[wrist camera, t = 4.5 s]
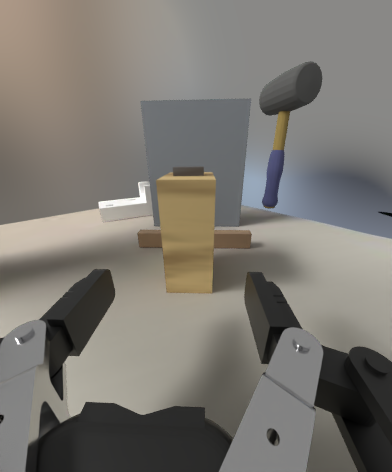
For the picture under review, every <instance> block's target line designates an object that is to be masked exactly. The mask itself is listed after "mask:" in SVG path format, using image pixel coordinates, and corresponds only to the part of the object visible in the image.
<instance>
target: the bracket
mask: <svg viewBox="0 0 392 472" xmlns="http://www.w3.org/2000/svg"><path fill="white" fill-rule="evenodd" d="M138 184H139V191H140V197H139V198H130V199H121V200H111V201H102V202H99V209H100V214H101V218H102V222H109V221H116V220H122V219H129V218H136V217H142V216H149V215H153V209H152V200H151V191H150V185H149V182H139V183H138Z"/></svg>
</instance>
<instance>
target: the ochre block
mask: <svg viewBox="0 0 392 472" xmlns="http://www.w3.org/2000/svg"><path fill="white" fill-rule="evenodd" d="M156 185H157V196H158V206H159V216H160V227H161V237H162V248H163V258H164V268H165V279H166V289H167V292H168V293H212V280H213V251H214V221H215V192H216V179H215V177H214V175H213V173H212V172H204V166H202V167H173V172H170V173H168V174H166V175H164V176H163V177H161V178H159V179H157V180H156Z"/></svg>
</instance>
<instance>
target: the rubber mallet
mask: <svg viewBox="0 0 392 472" xmlns="http://www.w3.org/2000/svg"><path fill="white" fill-rule="evenodd" d="M321 84H322V72H321V70H320V67H319V66H318V65H317V64H316V63H314V62H305V63H303V64H301V65H299V66H297V67H294V68H292V69H290V70H288V71H286V72H285V73H283V74H281V75H280V76H278V77H277V78H275V79H274V80H272V81H271V82H270V83H268V84H267V85H266V86H265V87H264V88H263V90H262V92H261V95H260V99H259V101H260V108H261V110H262V112H263V113H265V114H266V115H276V114H278V120H277V126H276V132H275V139H274V145H273V150H272V152H271V154H270V158H269V162H268V168H267V182H266V189H265V194H264V197H263V200H262V203H263V205H264V207H265V208H274V207H275V206H276V204H277V202H278V198H277V193H278V187H279V182H280V178H281V175H282V171H283V165H284V146H285V139H286V133H287V126H288V120H289V115H290V111H292V110H295V109H298V108H300V107H302V106H305V105H307V104H309V103H311V102H312V101H313V100H314V99H315V98H316V97H317V95H318V93H319V91H320V88H321Z"/></svg>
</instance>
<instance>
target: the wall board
mask: <svg viewBox="0 0 392 472" xmlns="http://www.w3.org/2000/svg"><path fill="white" fill-rule="evenodd" d="M250 105H251V99H210V100H209V99H208V100H163V101H141V109H142V118H143V127H144V136H145V146H146V154H147V164H148V173H149V182H150V191H151V200H152V209H153V218H154V226H160V216H159V206H158V196H157V185H156V180H157V179H159V178H161V177H163V176H164V175H166V174H168V173H170V172H173V167H202V166H204V172H212V173H213V175H214V177H215V179H216V192H215V221H214V226H239V222H240V211H241V200H242V189H243V179H244V168H245V157H246V147H247V137H248V126H249V116H250ZM251 235H252V234H251V232H250V231H249V230H214V248H250V243H251ZM138 240H139V246H140V247H162V237H161V230H140V231H139V232H138Z"/></svg>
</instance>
